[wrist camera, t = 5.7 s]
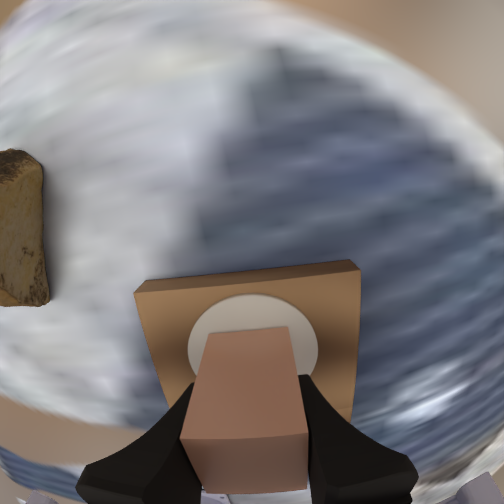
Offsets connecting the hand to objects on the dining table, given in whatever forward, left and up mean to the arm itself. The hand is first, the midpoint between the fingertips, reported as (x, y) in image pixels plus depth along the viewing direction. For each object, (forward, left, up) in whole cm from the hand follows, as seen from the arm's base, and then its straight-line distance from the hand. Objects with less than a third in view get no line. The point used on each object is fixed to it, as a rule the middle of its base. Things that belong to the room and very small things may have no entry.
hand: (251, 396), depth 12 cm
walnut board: (-4, 0, -6) cm, 7 cm away
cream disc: (0, 0, -4) cm, 4 cm away
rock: (+9, +15, -6) cm, 18 cm away
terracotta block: (0, 0, -3) cm, 3 cm away
